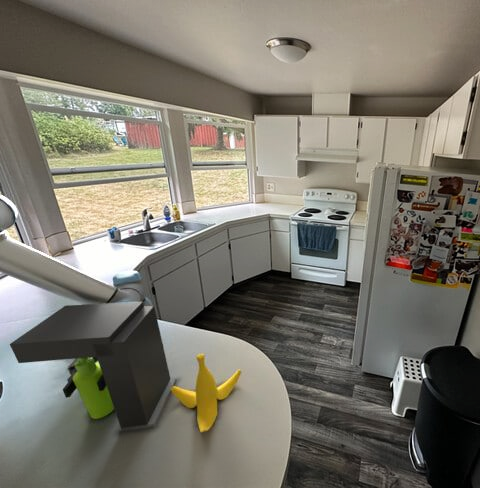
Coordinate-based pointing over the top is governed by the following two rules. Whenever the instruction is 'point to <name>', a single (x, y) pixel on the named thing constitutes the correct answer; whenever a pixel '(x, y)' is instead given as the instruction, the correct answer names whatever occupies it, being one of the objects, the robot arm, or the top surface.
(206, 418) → the banana peel
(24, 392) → the top surface
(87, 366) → the soap dispenser
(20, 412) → the top surface
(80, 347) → the coffee maker
